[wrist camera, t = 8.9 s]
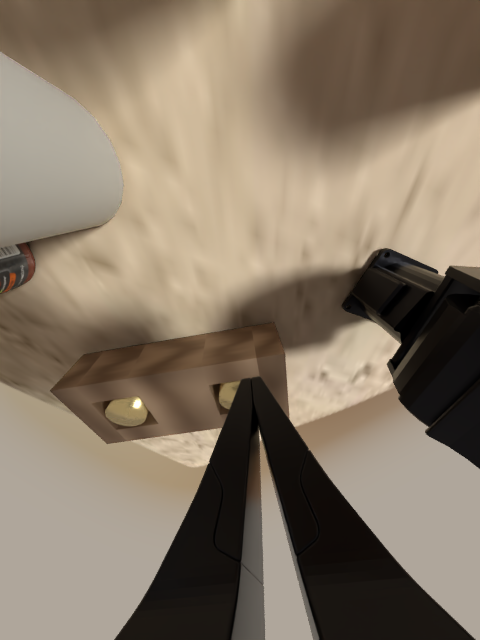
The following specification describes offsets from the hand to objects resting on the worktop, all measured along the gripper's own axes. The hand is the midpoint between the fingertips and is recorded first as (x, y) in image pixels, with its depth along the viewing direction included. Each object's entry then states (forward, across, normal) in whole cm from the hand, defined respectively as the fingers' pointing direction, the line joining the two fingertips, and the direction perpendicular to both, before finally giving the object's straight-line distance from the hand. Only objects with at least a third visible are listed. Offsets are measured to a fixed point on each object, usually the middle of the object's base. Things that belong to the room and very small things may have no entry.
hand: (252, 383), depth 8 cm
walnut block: (+12, +8, +10) cm, 18 cm away
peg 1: (+12, +14, +10) cm, 21 cm away
